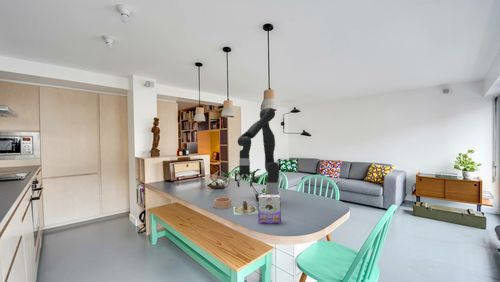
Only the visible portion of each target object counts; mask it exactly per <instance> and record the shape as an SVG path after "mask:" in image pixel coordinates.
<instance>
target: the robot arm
mask: <svg viewBox="0 0 500 282" xmlns="http://www.w3.org/2000/svg"><path fill="white" fill-rule="evenodd" d="M275 116H276V111H275V109H274V108H272V107H267V108H263V109H261V110H260V111H259V118H260V119H258V120H257V121H255V122H254V123H253V124H252V125H251V126H250V127H249V128H248V130H246V131H245V132H244V133H243V134H241V135H240V136H239V137H238V139H237V145H238V146H240V147H242V149H240V150H239V162H238V163H239V164H238V165H239V167H238V168H239V170H238V172H235V173H234V181H235V182H237V187H238V188H240V181H241V180H242V179H243V180H244V179H248V180H249V187H250V188H252V186H253V182H254V181H255V180H256V178H255V177H256V176H255V172H254V171H252V172H251V168H250V165H251V161H250V152H251V148H252V147H251V146H252V140H251V139H254V138H255V137H256V136H257V135H258V134H259V132H260V131H262V141H263V144H262V145H263V151H264V169H265V171H266V172H267V177H266V180H265V181H266V183H265V185H266V188H265V189H266V195H280V192H279V179H280V166H279V164H278V163H277V162H275V157H274V156H275V155H274V154H275V148H276V139H275V134H274V132H273V130H272V129H271V127H270V122H271V121H272V120H273V119H274V118H275ZM238 176H239V177H238ZM250 176H252V178H251V177H250Z"/></svg>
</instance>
